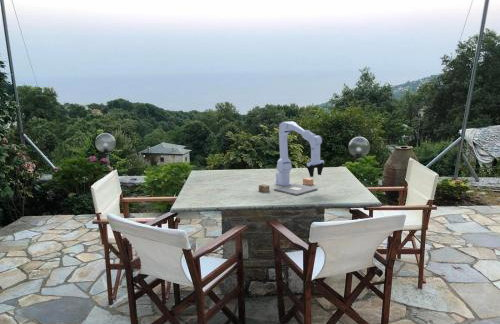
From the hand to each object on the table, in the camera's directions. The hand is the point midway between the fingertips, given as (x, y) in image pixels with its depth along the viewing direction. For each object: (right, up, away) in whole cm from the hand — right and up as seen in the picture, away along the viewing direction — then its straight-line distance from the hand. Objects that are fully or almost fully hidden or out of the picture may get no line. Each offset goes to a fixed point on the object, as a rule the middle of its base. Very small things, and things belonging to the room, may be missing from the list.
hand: (315, 175), depth 252 cm
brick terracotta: (-2, -7, +20) cm, 21 cm away
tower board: (-12, -9, +5) cm, 16 cm away
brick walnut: (-33, -10, +5) cm, 35 cm away
